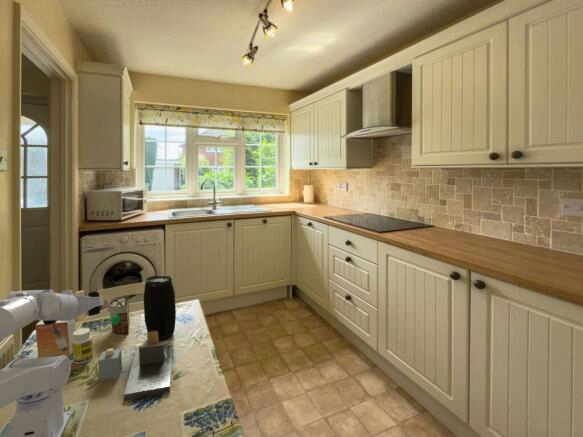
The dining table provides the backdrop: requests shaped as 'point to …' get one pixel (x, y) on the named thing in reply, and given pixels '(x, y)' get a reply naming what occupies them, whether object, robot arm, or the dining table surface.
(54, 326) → the small box
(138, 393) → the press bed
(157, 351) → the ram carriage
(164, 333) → the portable speaker
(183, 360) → the dining table surface
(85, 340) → the supplement bottle
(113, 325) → the food container
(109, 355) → the block
